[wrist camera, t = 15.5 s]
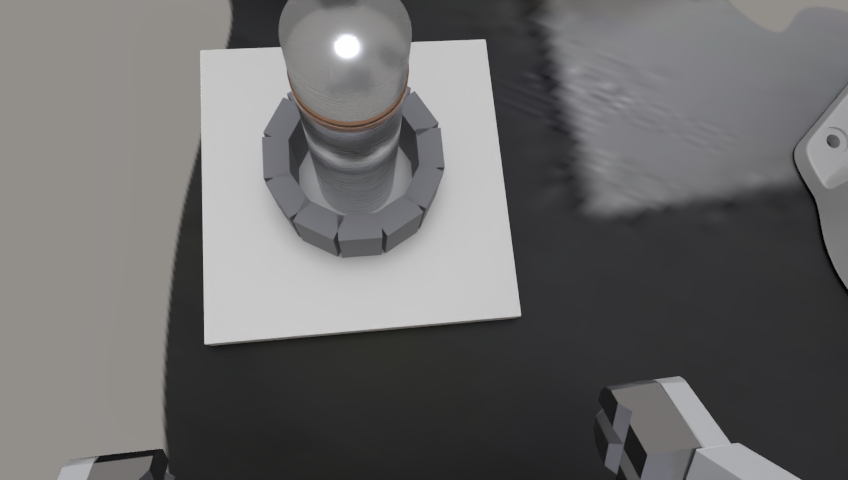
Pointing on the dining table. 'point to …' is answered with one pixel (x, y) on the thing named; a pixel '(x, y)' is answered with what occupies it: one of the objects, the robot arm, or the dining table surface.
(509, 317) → the collar plate
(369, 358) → the dining table surface
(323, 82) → the silver peg
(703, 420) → the robot arm
